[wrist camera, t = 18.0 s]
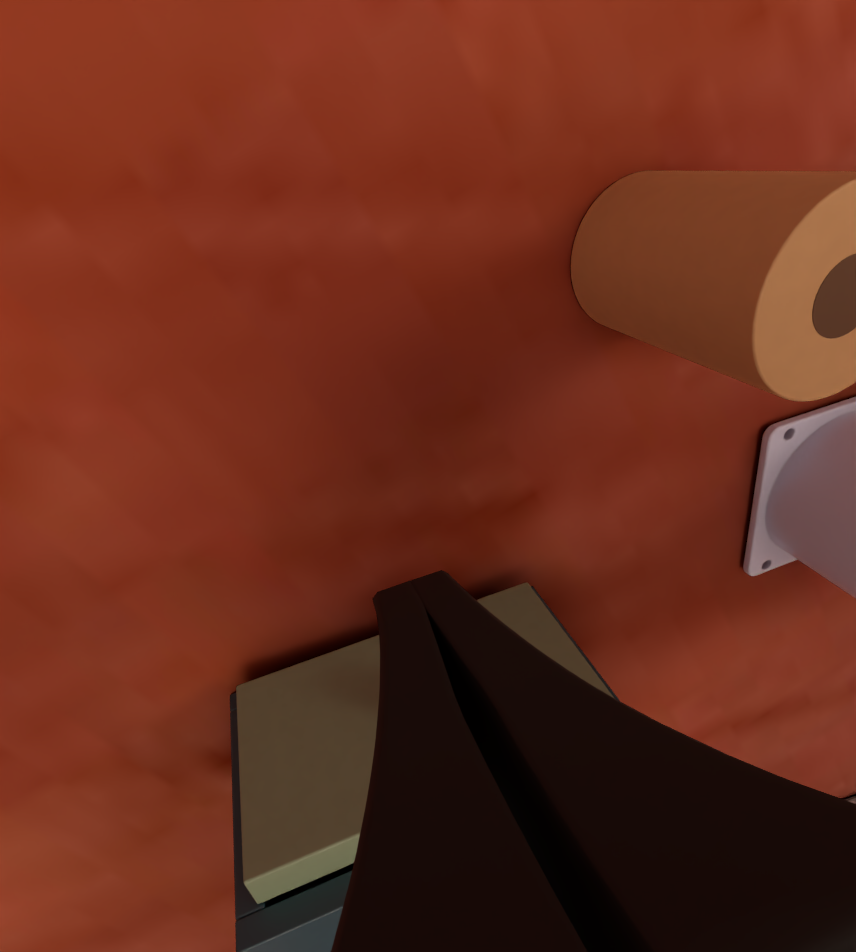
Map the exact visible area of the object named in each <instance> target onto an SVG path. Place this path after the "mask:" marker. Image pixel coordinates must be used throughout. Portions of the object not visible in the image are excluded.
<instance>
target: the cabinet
mask: <svg viewBox="0 0 856 952" xmlns="http://www.w3.org/2000/svg"><path fill="white" fill-rule="evenodd" d="M531 588H532V589H533V591H534V592H535V593H536V595H537V596H538V597H539V599H540V600H541V601H542V602H543V604H544V605H545V606H546V608H547V609H548V610H549V612H550V613H551V614H552V616H553V617H554V618H555V620H556V621H557V622H558V624H559V625H560V626H561V628H562V629H563V630H564V632H565V633H566V634H567V636H568V637H569V638H570V640H571V641H572V642H573V644H574V645H575V646H576V648H577V649H578V650H579V652H580V653H581V654H582V656H583V657H584V658H585V660H586V661H587V662H588V664H589V665H590V666H591V668H592V669H593V670H594V672H595V673H596V674H597V676H598V677H599V678H600V680H601V681H602V682H603V684H604V685H605V686H606V688H607V689H608V690H609V692H610V693H611V694H612V696H613V697H614V698H615V699H617V700H618V701H620V700H619V699H618V698H617V697H616V695H615V694H614V693H613V691H612V690H611V689H610V687H609V686H608V685H607V683H606V682H605V681H604V679H603V678H602V677H601V675H600V674H599V673H598V671H597V670H596V669H595V668H594V666H593V665H592V664H591V662H590V661H589V660H588V658H587V657H586V656H585V654H584V653H583V652H582V650H581V649H580V648H579V646H578V645H577V644H576V642H575V641H574V640H573V638H572V637H571V636H570V635H569V633H568V632H567V631H566V629H565V628H564V627H563V625H562V624H561V623H560V621H559V620H558V619H557V617H556V616H555V615H554V613H553V612H552V611H551V609H550V608H549V607H548V606H547V604H546V603H545V602H544V600H543V599H542V598H541V596H540V595H539V594H538V592H537V591H536V590H535V588H534V587H533V586H531ZM230 711H231V713H230V720H231V759H232V799H233V838H234V878H235V917H236V920H237V921H236V923H235V928H236V952H331V950H332V946H333V942H334V939H335V935H336V931H337V927H338V924H339V920H340V916H341V912H342V909H343V905H344V901H345V897H346V894H347V890H348V886H349V882H350V878H351V874H352V871H350V872H347V873H345V874H343V875H340V876H338V877H336V878H333V879H331V880H329V881H327V882H324V883H322V884H320V885H317V886H315V887H313V888H310V889H308V890H306V891H303V892H301V893H299V894H297V895H294V889H293V890H290V891H288V892H286V893H283V894H281V895H279V896H276V897H274V898H272V899H270V900H267V901H265V902H263V903H260V904H257V903H256V901H255V900H254V898H253V897H252V895H251V894H250V892H249V891H248V889H247V887H246V886H245V884H244V883H243V857H242V830H241V804H240V777H239V751H238V724H237V697H236V693H234V694H231V695H230Z"/></svg>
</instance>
